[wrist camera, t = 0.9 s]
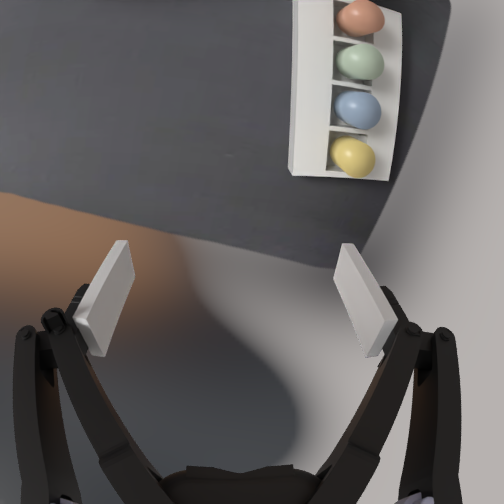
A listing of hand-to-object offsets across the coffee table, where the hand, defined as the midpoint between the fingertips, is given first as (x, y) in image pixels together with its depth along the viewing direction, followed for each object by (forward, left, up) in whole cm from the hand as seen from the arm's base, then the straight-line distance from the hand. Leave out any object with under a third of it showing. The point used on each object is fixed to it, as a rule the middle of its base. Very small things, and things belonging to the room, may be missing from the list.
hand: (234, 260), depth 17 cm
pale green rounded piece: (-14, +14, -21) cm, 29 cm away
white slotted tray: (-11, +14, -24) cm, 30 cm away
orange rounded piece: (-20, +14, -21) cm, 32 cm away
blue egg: (-8, +14, -21) cm, 26 cm away
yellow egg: (-2, +14, -21) cm, 25 cm away
